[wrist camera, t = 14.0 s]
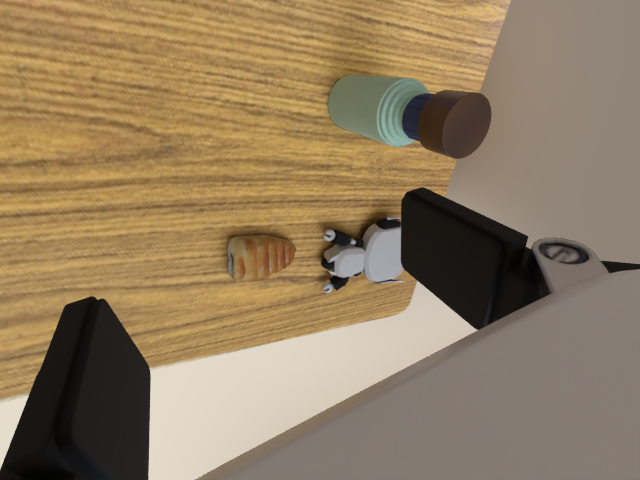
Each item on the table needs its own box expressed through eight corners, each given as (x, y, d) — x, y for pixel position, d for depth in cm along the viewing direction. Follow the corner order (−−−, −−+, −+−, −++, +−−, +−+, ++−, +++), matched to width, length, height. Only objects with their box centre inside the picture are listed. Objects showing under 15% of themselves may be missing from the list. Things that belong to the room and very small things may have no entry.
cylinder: (407, 122, 26) (432, 128, 24) (449, 75, 26) (479, 77, 23) (432, 162, 29) (456, 170, 27) (470, 120, 29) (498, 125, 26)
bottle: (317, 103, 39) (393, 122, 26) (353, 62, 38) (447, 61, 26) (347, 139, 42) (425, 171, 30) (380, 102, 42) (473, 119, 30)
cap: (394, 117, 29) (413, 122, 26) (424, 83, 28) (447, 85, 26) (413, 147, 31) (433, 154, 29) (442, 116, 31) (464, 120, 29)
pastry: (292, 226, 45) (302, 238, 42) (290, 266, 48) (299, 280, 45) (224, 234, 41) (229, 248, 38) (227, 277, 44) (232, 293, 41)
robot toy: (315, 286, 53) (393, 269, 57) (325, 302, 49) (408, 283, 54) (315, 219, 47) (402, 206, 51) (326, 233, 43) (419, 217, 48)
